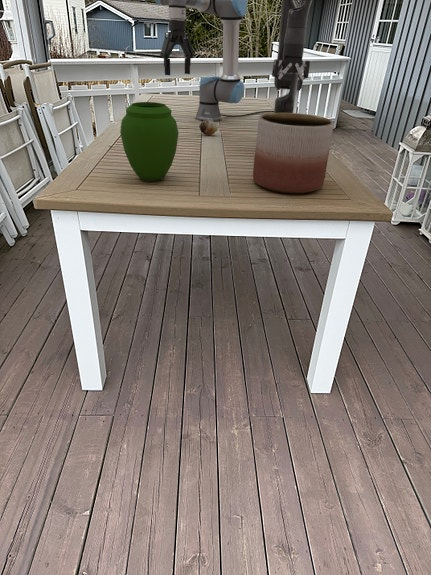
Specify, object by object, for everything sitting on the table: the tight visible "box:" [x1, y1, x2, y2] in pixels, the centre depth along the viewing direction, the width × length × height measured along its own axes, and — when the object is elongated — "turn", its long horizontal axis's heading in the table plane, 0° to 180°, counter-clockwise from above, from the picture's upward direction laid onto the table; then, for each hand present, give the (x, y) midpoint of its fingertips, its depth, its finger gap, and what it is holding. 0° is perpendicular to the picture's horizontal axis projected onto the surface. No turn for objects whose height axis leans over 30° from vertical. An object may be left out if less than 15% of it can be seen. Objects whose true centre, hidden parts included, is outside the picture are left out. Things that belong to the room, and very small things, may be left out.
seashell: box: [198, 119, 219, 136], centre depth 209 cm, size 10×6×8 cm, turn 97°
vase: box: [119, 101, 179, 182], centre depth 140 cm, size 20×20×24 cm
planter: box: [252, 112, 335, 194], centre depth 142 cm, size 25×25×22 cm
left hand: (177, 74), depth 190 cm, fingers open, 13 cm apart
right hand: (288, 90), depth 161 cm, fingers open, 8 cm apart
